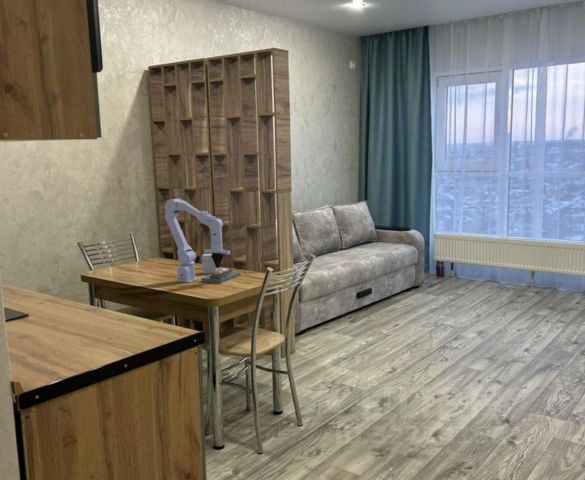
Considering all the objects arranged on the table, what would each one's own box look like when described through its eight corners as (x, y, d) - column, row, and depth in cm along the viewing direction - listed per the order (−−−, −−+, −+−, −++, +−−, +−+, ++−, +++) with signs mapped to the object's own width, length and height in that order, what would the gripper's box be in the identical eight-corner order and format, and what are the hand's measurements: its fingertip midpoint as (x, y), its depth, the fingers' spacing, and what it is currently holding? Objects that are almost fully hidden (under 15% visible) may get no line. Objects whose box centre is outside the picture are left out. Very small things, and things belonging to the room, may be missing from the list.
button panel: (221, 283, 295) (220, 277, 295) (201, 281, 300) (200, 275, 299) (240, 275, 314) (240, 269, 314) (221, 274, 319) (221, 268, 318)
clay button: (219, 275, 297) (219, 272, 297) (212, 275, 299) (212, 271, 298) (223, 274, 301) (223, 270, 301) (216, 273, 303) (216, 270, 302)
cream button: (222, 273, 304) (222, 269, 303) (215, 272, 305) (215, 269, 305) (226, 271, 308) (226, 268, 307) (219, 271, 309) (219, 267, 309)
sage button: (225, 273, 311) (225, 269, 310) (218, 272, 312) (218, 269, 312) (229, 271, 315) (229, 268, 314) (222, 271, 316) (222, 268, 316)
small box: (218, 271, 327) (217, 253, 326) (216, 273, 322) (215, 255, 320) (204, 271, 328) (204, 253, 327) (202, 273, 322) (201, 255, 321)
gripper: (232, 241, 298) (233, 266, 300) (208, 240, 304) (210, 265, 306) (225, 243, 292) (226, 269, 294) (201, 242, 298) (202, 267, 300)
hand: (217, 267), depth 299 cm, fingers closed
